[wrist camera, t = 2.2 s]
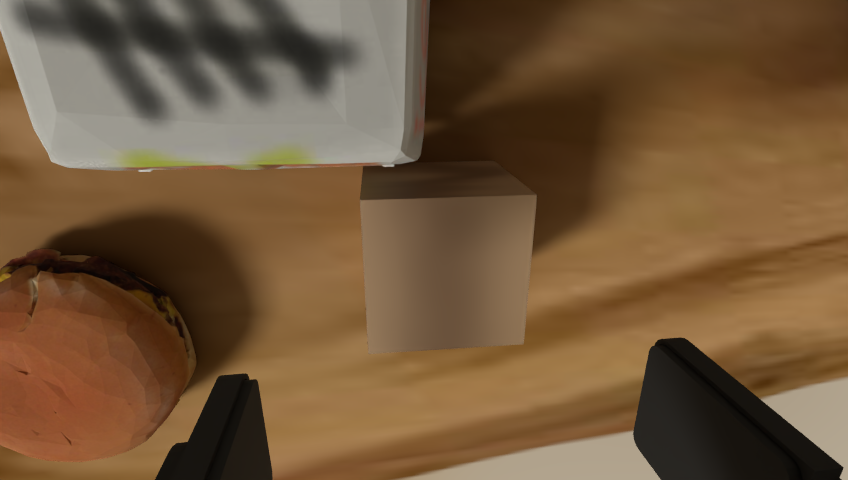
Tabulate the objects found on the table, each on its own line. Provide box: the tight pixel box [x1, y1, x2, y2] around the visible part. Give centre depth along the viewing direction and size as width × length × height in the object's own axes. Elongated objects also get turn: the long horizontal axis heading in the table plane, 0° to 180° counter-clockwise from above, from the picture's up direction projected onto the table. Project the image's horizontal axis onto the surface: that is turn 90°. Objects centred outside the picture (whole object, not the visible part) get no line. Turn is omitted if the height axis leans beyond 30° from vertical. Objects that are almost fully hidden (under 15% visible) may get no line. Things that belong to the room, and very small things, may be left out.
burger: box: [0, 249, 197, 462], centre depth 20 cm, size 10×9×5 cm
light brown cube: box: [360, 161, 537, 354], centre depth 19 cm, size 6×6×6 cm
